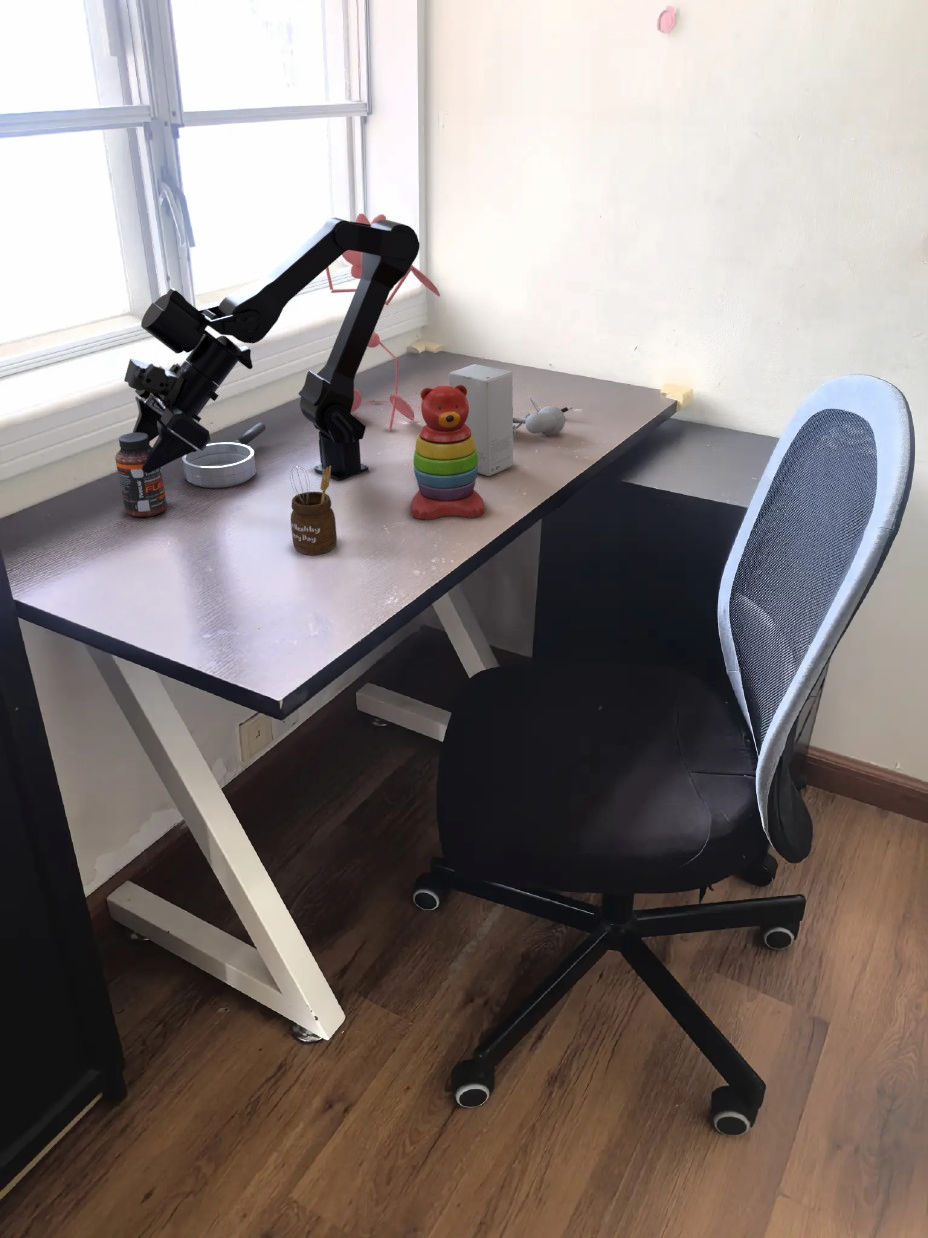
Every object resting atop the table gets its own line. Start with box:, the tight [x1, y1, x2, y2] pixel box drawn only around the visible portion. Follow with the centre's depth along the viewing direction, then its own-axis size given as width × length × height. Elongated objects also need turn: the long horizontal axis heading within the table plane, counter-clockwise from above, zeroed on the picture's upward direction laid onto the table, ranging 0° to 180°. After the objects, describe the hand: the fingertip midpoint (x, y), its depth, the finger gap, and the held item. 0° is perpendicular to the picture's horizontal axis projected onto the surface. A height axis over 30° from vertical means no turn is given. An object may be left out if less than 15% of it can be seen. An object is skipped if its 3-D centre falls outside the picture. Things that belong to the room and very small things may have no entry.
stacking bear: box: [410, 385, 486, 520], centre depth 132 cm, size 11×10×18 cm
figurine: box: [325, 213, 441, 436], centre depth 163 cm, size 15×26×35 cm, turn 66°
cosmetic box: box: [448, 363, 514, 477], centre depth 146 cm, size 8×7×16 cm
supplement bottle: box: [114, 432, 168, 518], centre depth 133 cm, size 6×6×11 cm
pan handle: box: [229, 422, 267, 451], centre depth 155 cm, size 11×2×2 cm, turn 166°
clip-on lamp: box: [513, 395, 573, 437], centre depth 164 cm, size 12×6×18 cm
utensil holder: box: [289, 466, 338, 556], centre depth 122 cm, size 6×6×12 cm
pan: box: [181, 442, 257, 489], centre depth 146 cm, size 11×11×4 cm
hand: (136, 461), depth 132 cm, fingers open, 9 cm apart
